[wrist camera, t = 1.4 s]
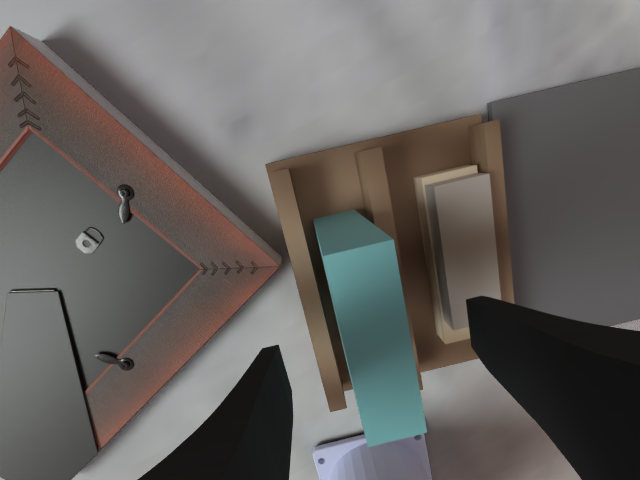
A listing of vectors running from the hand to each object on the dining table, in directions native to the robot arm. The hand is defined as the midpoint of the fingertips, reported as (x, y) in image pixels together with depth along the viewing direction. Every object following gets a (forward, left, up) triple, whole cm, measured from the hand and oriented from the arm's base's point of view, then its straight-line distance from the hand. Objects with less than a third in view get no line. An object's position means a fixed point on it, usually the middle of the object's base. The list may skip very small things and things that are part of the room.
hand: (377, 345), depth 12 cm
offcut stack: (0, -6, -7) cm, 10 cm away
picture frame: (+3, +17, -9) cm, 20 cm away
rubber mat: (0, -15, -8) cm, 17 cm away
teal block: (0, 0, -7) cm, 7 cm away
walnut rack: (0, -3, -8) cm, 9 cm away
